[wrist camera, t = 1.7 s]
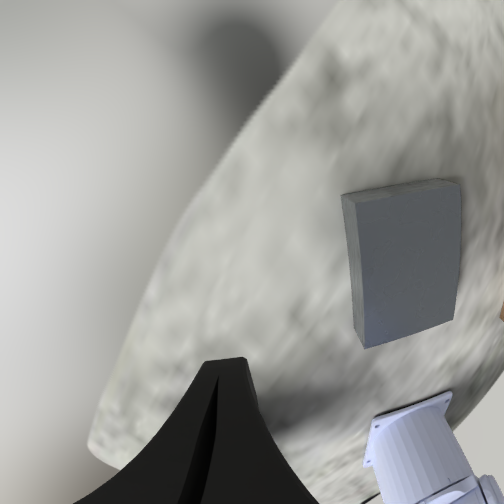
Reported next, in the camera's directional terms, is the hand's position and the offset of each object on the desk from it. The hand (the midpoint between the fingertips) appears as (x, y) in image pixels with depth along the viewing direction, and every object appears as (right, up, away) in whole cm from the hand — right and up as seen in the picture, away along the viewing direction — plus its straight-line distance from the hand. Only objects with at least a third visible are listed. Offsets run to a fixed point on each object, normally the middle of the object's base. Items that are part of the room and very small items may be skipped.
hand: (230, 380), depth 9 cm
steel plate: (+9, +4, +6) cm, 12 cm away
